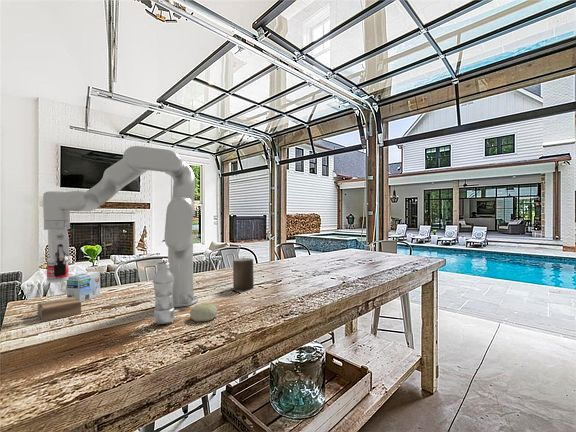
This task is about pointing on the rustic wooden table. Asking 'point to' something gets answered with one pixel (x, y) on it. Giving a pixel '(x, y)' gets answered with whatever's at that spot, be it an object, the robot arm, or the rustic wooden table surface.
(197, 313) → the sea urchin shell
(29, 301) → the rustic wooden table surface
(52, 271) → the pill bottle
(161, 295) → the plastic bottle
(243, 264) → the pillar candle
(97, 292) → the light bulb box
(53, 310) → the walnut base
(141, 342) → the rustic wooden table surface
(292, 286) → the rustic wooden table surface
